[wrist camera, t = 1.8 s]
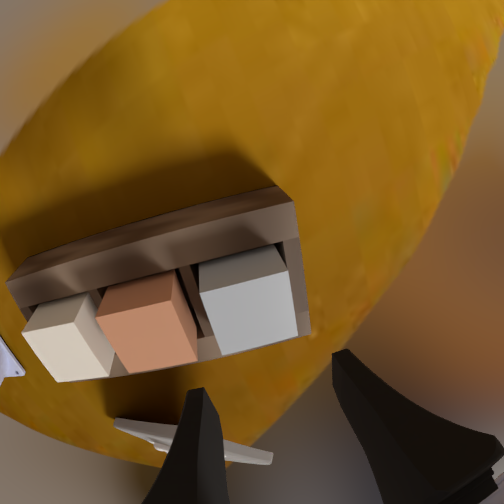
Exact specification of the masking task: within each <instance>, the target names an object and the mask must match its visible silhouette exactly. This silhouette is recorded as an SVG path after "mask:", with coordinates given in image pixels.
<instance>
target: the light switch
mask: <svg viewBox="0 0 504 504" xmlns="http://www.w3.org/2000/svg"><path fill="white" fill-rule="evenodd" d="M177 426H178V425H169V424H159V423H150V422H143V421H135V420H129V419H122V418H115V421H114V427H115V428H117V429H120V430H122V431H124V432H127V433H129V434H132V435H134V436H137V437H139V438H142V439H144V440H147V441H148V442H150V443H152V444H154V447H155V448H156V450H159V451H165V452H166V453H168V451H169V449H170V446H171V444H172V441H173V438H174V435H175V432H176V429H177ZM223 443H224V457H225V460H228V461H235V462H243V463H253V464H263V465H269V464H271V462H272V457H273V453H271V452H267V451H263V450H259V449H255V448H251V447H247V446H244V445H240V444H237V443H233V442H230V441H227V440H223Z"/></svg>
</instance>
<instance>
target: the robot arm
mask: <svg viewBox="0 0 504 504" xmlns="http://www.w3.org/2000/svg"><path fill="white" fill-rule="evenodd" d="M24 374H25V370H24V369H23V367H22V366H21V365H20V363H19V362H18V361H17V359H16V358H15V357H14V355H13V354H12V352H11V351H10V350H9V348H8V347H7V345H6V344H5V342H4V341H3V340H2V338H1V337H0V385H1V383H2V381H3V379H4V377H12V376H24ZM332 379H333V387H334V390H335V393H336V395H337V398H338V400H339V403H340V405H341V408H342V409H343V411H344V413H345V415H346V417H347V419H348V421H349V423H350V425H351V426H352V428H353V430H354V432H355V434H356V436H357V438H358V440H359V442H360V443H361V445H362V447H363V449H364V451H365V454H366V455H367V458H368V461H369V463H370V466H371V468H372V471H373V474H374V476H375V479H376V482H377V485H378V487H379V491H380V494H381V497H382V500H383V503H384V504H504V472H503V473H502V474H501V475H500V476H498V478H496V479H495V480H494V479H493V478H492V475H493V474H494V471H493V470H492V468H491V467H492V466H493V465H494V464H495V463H496V462H497V461H498V460H500V458H502V457H503V455H504V448H503V446H502V445H501V443H500V442H499V441H498V440H497V438H496V437H495V436H493V435H489V434H486V433H482V432H478V431H475V430H472V429H469V428H466V427H463V426H460V425H457V424H455V423H453V422H451V421H448V420H446V419H444V418H441V417H439V416H437V415H435V414H433V413H431V412H429V411H427V410H425V409H424V408H422V407H420V406H419V405H416V404H415V403H414V402H412V401H410V400H409V399H407V398H406V397H404V396H403V395H402V394H400V393H399V392H397V391H396V390H395V389H393V388H392V387H391V386H389V385H388V384H387V383H386V382H384V381H383V380H382V379H381V378H379V377H378V376H377V375H376V374H375V373H373V372H372V371H371V370H370V369H369V368H368V367H366V366H365V365H364V364H363V363H362V362H361V361H360V360H359V359H358V358H357V357H356V356H355V355H354V354H353V353H351V351H350V350H348V349H344V350H341V351H338V352H335V353H332ZM142 504H230V501H229V496H228V491H227V482H226V470H225V457H224V443H223V435H222V429H221V424H220V419H219V415H218V413H217V411H216V409H215V407H214V405H213V404H212V402H211V400H210V398H209V396H208V394H207V392H206V390H205V389H204V387H202V388H197V389H192V390H188V391H187V394H186V398H185V402H184V406H183V410H182V413H181V417H180V420H179V423H178V426H177V429H176V432H175V435H174V438H173V441H172V444H171V446H170V449H169V451H168V454H167V456H166V459H165V461H164V463H163V466H162V468H161V470H160V472H159V475H158V476H157V478H156V480H155V482H154V484H153V486H152V487H151V489H150V491H149V492H148V494H147V496H146V497H145V499H144V501H143V502H142Z"/></svg>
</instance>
